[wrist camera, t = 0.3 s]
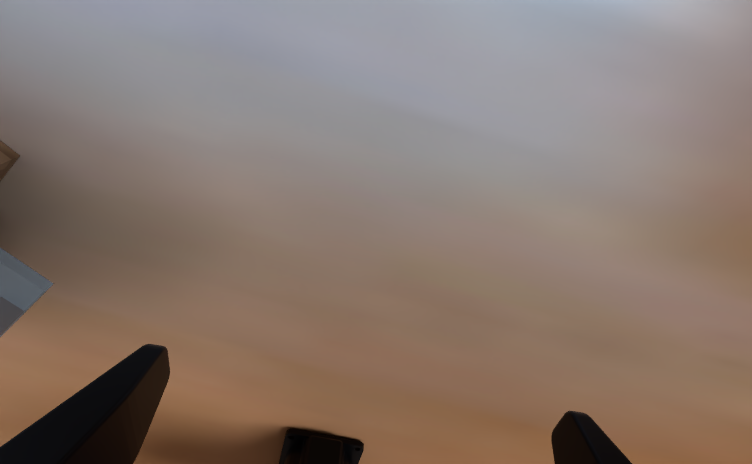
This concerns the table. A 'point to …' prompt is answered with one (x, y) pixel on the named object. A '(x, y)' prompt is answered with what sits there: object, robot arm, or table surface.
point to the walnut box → (6, 159)
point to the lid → (17, 289)
